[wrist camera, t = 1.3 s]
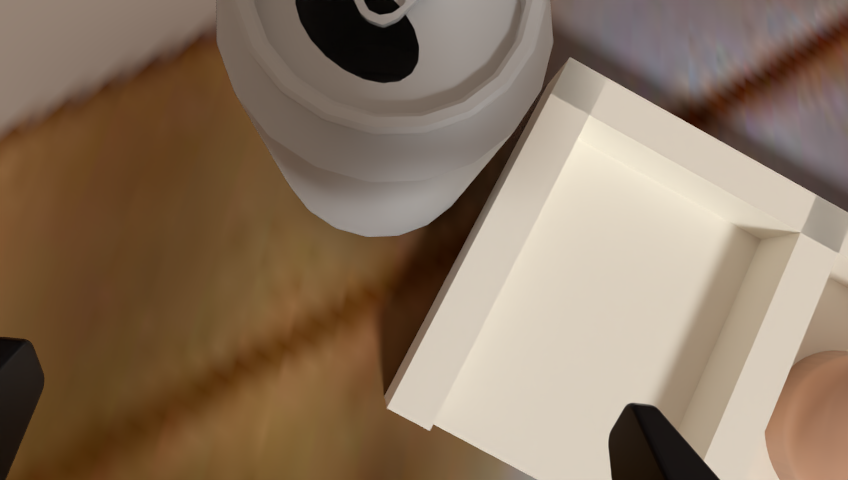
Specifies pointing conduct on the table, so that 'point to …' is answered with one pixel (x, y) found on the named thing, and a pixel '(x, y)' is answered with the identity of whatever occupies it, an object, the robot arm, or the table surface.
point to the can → (384, 97)
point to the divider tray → (626, 292)
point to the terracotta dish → (812, 420)
